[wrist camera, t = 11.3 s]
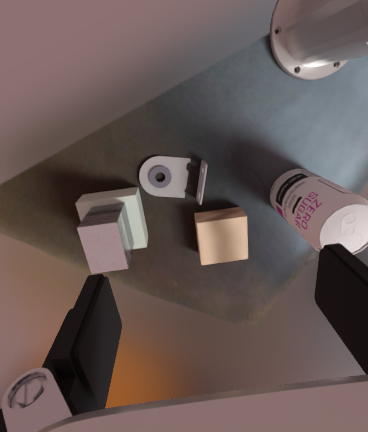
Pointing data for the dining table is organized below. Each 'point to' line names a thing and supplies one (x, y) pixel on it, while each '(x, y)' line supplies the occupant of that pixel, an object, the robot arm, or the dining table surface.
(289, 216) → the supplement can
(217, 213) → the stand
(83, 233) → the block
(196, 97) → the dining table surface
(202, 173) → the bracket
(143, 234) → the stand
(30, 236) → the dining table surface
